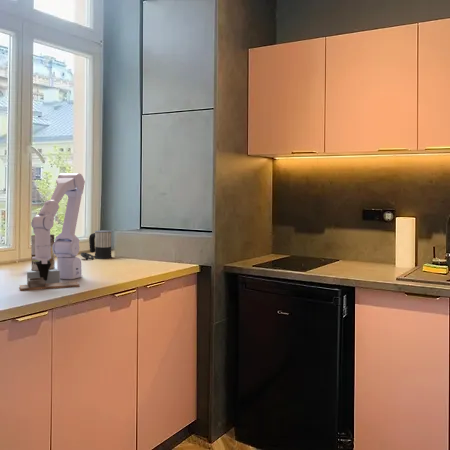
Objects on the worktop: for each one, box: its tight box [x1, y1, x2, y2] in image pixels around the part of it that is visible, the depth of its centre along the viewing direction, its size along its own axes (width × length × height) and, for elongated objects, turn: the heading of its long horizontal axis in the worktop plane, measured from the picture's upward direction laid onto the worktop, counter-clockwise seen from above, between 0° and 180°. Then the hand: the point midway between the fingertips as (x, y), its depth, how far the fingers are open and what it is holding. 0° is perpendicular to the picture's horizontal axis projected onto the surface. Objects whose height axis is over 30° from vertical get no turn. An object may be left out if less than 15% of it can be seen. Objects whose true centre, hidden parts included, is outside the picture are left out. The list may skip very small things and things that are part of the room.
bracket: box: [19, 278, 80, 292], centre depth 199 cm, size 21×8×3 cm, turn 113°
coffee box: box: [30, 233, 56, 271], centre depth 244 cm, size 9×6×16 cm
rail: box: [26, 269, 61, 285], centre depth 207 cm, size 12×3×5 cm, turn 113°
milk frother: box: [80, 229, 113, 261], centre depth 282 cm, size 14×16×15 cm
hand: (43, 279), depth 207 cm, fingers closed on rail, 3 cm apart
